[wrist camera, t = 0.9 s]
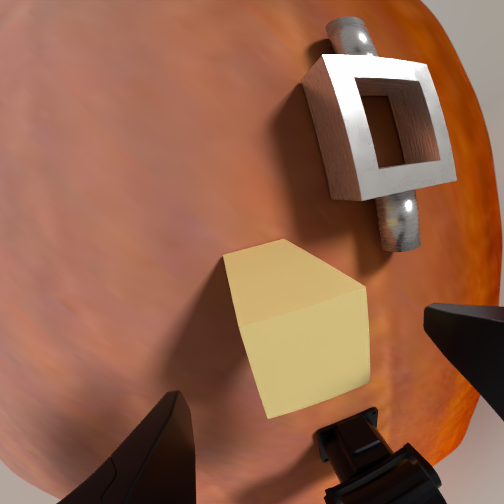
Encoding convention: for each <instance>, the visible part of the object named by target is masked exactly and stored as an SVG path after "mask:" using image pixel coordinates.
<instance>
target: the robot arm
mask: <svg viewBox="0 0 504 504" xmlns="http://www.w3.org/2000/svg"><path fill="white" fill-rule="evenodd" d="M423 327H424V330H425V332H426V333H427V335H428V336H429V337H430V338H431V340H432V341H433V342H434V343H435V345H436V346H437V347H438V348H439V350H440V351H441V352H442V354H443V355H444V356H445V357H446V358H447V359H448V360H449V361H450V363H451V364H452V365H453V366H454V367H455V368H456V369H457V370H458V371H459V372H460V373H461V374H462V375H463V376H464V377H465V378H466V379H467V380H468V381H469V383H470V384H471V385H472V386H473V387H474V388H475V389H476V390H477V391H478V392H479V393H480V395H481V396H482V397H483V398H484V399H485V400H486V401H487V402H488V404H489V405H490V406H491V407H492V408H493V409H494V410H495V412H496V413H497V414H498V415H499V416H500V417H501V419H502V420H503V421H504V307H497V306H474V305H456V304H440V303H433V304H430V305H429V306H427V307H426V308H425V309H424V324H423ZM377 418H378V409H377V408H376V407H372V408H370V409H368V410H366V411H364V412H362V413H359V414H357V415H355V416H352V417H350V418H348V419H345V420H343V421H340V422H338V423H335V424H333V425H330V426H328V427H325V428H322V429H320V430H319V431H318V432H317V435H318V442H319V448H320V455H321V460H322V462H323V463H325V462H328V461H330V462H331V464H332V466H333V468H334V471H335V473H336V475H337V477H338V479H339V481H340V483H341V484H339V485H336V486H334V487H332V488H328V489H326V490H325V492H326V496H325V497H324V500H325V502H326V504H447V503H446V501H445V499H444V498H443V496H442V494H441V493H440V491H439V490H438V488H439V487H440V486H441V485H442V484H441V480H440V478H439V476H438V474H437V473H436V471H435V470H434V469H433V467H432V466H431V465H430V464H429V463H428V462H427V461H426V460H425V459H424V458H423V457H422V456H421V455H420V454H419V453H418V452H417V451H416V450H415V449H414V448H413V447H412V446H411V445H410V444H409V443H407V444H405V445H404V446H403V447H402V448H401V449H399V450H398V451H396V452H395V453H394V452H393V451H392V450H391V448H390V447H389V445H388V444H387V443H386V441H385V440H384V438H383V437H382V436H381V434H380V433H379V431H378V430H377V429H376V428H377ZM57 504H196V471H195V445H194V437H193V429H192V421H191V413H190V409H189V407H188V405H187V403H186V401H185V399H184V397H183V395H182V393H181V392H180V391H178V390H176V391H170V392H167V393H166V394H165V395H164V396H163V397H162V399H161V400H160V401H159V402H158V403H157V404H156V405H155V407H154V408H153V409H152V410H151V411H150V412H149V413H148V415H147V416H146V417H145V418H144V419H143V420H142V421H141V422H140V424H139V425H138V426H137V427H136V428H135V429H134V430H133V431H132V432H131V434H130V435H129V436H128V437H127V438H126V439H125V440H124V441H123V442H122V443H121V445H120V446H119V447H118V448H117V449H116V450H115V451H114V452H113V453H112V454H111V457H109V458H108V459H107V460H106V461H105V462H104V463H103V464H102V465H101V466H100V467H99V468H98V469H97V470H96V471H95V472H94V473H93V474H92V475H91V476H90V477H89V478H87V479H86V480H85V481H84V482H83V483H82V484H81V485H79V486H78V487H77V488H76V489H75V490H73V491H72V492H71V493H70V494H68V495H67V496H66V497H65V498H64V499H62V500H61V501H60V502H58V503H57Z"/></svg>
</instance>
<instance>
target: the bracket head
mask: <svg viewBox="0 0 504 504" xmlns="http://www.w3.org/2000/svg"><path fill="white" fill-rule="evenodd" d="M325 30H326V32H327V35H328V37H329V39H330V42H331V44H332V47H333V49H334V52H335V54H336V55H322V56H321V57H320V58H319V59H318V60H317V61H316V63H315V64H314V65H313V66H312V67H311V68H310V70H309V71H308V72H307V73H306V74H305V75H304V77H303V78H302V79H301V82H302V85H303V89H304V92H305V95H306V98H307V102H308V105H309V109H310V112H311V116H312V119H313V123H314V127H315V130H316V134H317V138H318V142H319V146H320V150H321V154H322V158H323V162H324V166H325V171H326V175H327V180H328V184H329V189H330V194H331V199H335V200H355V201H364V200H368V199H373V198H375V203H376V209H377V215H378V222H379V229H380V237H381V245H382V249H383V250H385V251H390V252H404V251H410V250H413V249H416V248H418V247H420V246H421V233H420V223H419V214H418V206H417V199H416V192H415V189H418V188H423V187H427V186H432V185H437V184H442V183H447V182H451V181H456V180H457V178H456V172H455V166H454V160H453V155H452V150H451V145H450V140H449V136H448V132H447V128H446V124H445V120H444V116H443V113H442V109H441V106H440V102H439V99H438V96H437V93H436V90H435V87H434V84H433V81H432V78H431V76H430V73H429V70H428V68H427V65H426V64H422V63H416V62H410V61H404V60H397V59H389V58H380V57H379V56H378V53H377V51H376V48H375V46H374V44H373V41H372V39H371V37H370V35H369V32H368V30H367V28H366V26H365V24H364V22H363V20H361V19H360V18H357V17H342V18H338V19H335V20H333V21H331V22H330V23H328V24H327V26H326V28H325ZM360 96H388V99H389V102H390V105H391V109H392V112H393V115H394V119H395V123H396V126H397V130H398V134H399V138H400V142H401V147H402V151H403V156H404V160H405V164H401V165H394V166H387V167H381V168H378V163H377V159H376V154H375V150H374V146H373V141H372V137H371V133H370V130H369V126H368V122H367V119H366V115H365V112H364V108H363V105H362V102H361V98H360Z"/></svg>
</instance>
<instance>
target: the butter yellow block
mask: <svg viewBox="0 0 504 504" xmlns="http://www.w3.org/2000/svg"><path fill="white" fill-rule="evenodd" d="M223 258H224V263H225V268H226V272H227V277H228V282H229V286H230V291H231V295H232V300H233V304H234V309H235V313H236V317H237V322H238V326H239V330H240V333H241V336H242V340H243V343H244V346H245V349H246V353H247V356H248V359H249V362H250V365H251V369H252V372H253V375H254V378H255V381H256V384H257V387H258V391H259V394H260V397H261V400H262V403H263V406H264V409H265V412H266V415H267V418H268V419H270V418H273V417H277V416H280V415H284V414H287V413H290V412H293V411H296V410H299V409H302V408H305V407H308V406H311V405H314V404H317V403H320V402H322V401H325V400H328V399H330V398H333V397H336V396H338V395H341V394H343V393H345V392H348V391H350V390H353V389H355V388H357V387H360V386H362V385H364V384H366V383H369V382H370V345H369V323H368V307H367V295H366V287H365V286H364V285H362V284H360V283H359V282H357V281H355V280H354V279H352V278H350V277H349V276H347V275H345V274H344V273H342V272H340V271H339V270H337V269H335V268H334V267H332V266H330V265H328V264H327V263H325V262H323V261H322V260H320V259H318V258H317V257H315V256H313V255H311V254H310V253H308V252H306V251H305V250H303V249H301V248H299V247H298V246H296V245H294V244H292V243H291V242H289V241H287V240H285V239H281V240H277V241H273V242H270V243H266V244H262V245H258V246H255V247H251V248H247V249H243V250H240V251H236V252H232V253H228V254H225V255H223Z"/></svg>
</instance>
